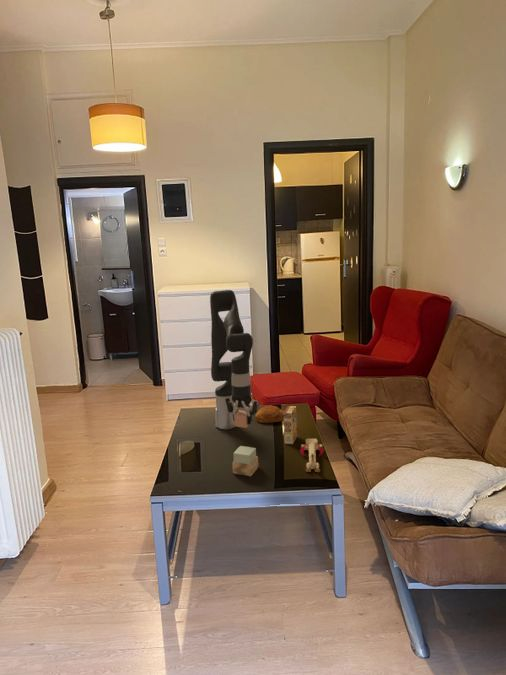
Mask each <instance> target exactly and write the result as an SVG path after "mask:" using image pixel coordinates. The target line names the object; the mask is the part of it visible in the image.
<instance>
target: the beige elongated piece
mask: <svg viewBox="0 0 506 675" xmlns="http://www.w3.org/2000/svg"><path fill="white" fill-rule="evenodd" d="M305 450H306V451H308V462H306V465H305V467H306V468H305V473H307V472H310V473H311V472H312V470H314V472H315V473H316V472H318V473H317V474H319V473H320V472H321V469H320V463H319V462H317V460H316V459H317V457H316V451H317V450H318V451H319V455H318V457H321V456H323V454H324V452H325V451H324V448H323V444H320V443H319V444H318V439H317V438H306V439H305V444H301V446H300V450H299V452H300V454H301V455H302V456H304V457H306V455H305Z"/></svg>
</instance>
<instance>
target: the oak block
mask: <svg viewBox="0 0 506 675" xmlns="http://www.w3.org/2000/svg"><path fill="white" fill-rule="evenodd" d="M231 463H232V474H234V475H241V476H247V477H252V476H253V475H254V473H255V472H256V471H257V470H258V468H259V456H257V455H256V458H255V459H254V460H253V461H252V463H251V464H250V465H248V464H242V463H236V462H234V460H233V461H232V462H231Z"/></svg>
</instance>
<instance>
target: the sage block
mask: <svg viewBox="0 0 506 675" xmlns="http://www.w3.org/2000/svg"><path fill="white" fill-rule="evenodd" d="M256 456H257V448H256V447H251V446H244V445H240V446H239V447H238V448H236V450H235V451H234V452H233V461H234V462H236V463H242V464H248V465H250V464H251V463H252V461H253V460H254V459H255V458H256Z"/></svg>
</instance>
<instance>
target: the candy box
mask: <svg viewBox="0 0 506 675" xmlns="http://www.w3.org/2000/svg"><path fill="white" fill-rule="evenodd" d="M283 411H284V413H283V414H284V420H283V432H284V434H283V436H284V444H287V445H293V444H295V443H294V442H295V441H296V439H297V437H298V432H297V431H298V430H297V427H298V426H297V406H293V405H287V407H286V409H284V410H283Z"/></svg>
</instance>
